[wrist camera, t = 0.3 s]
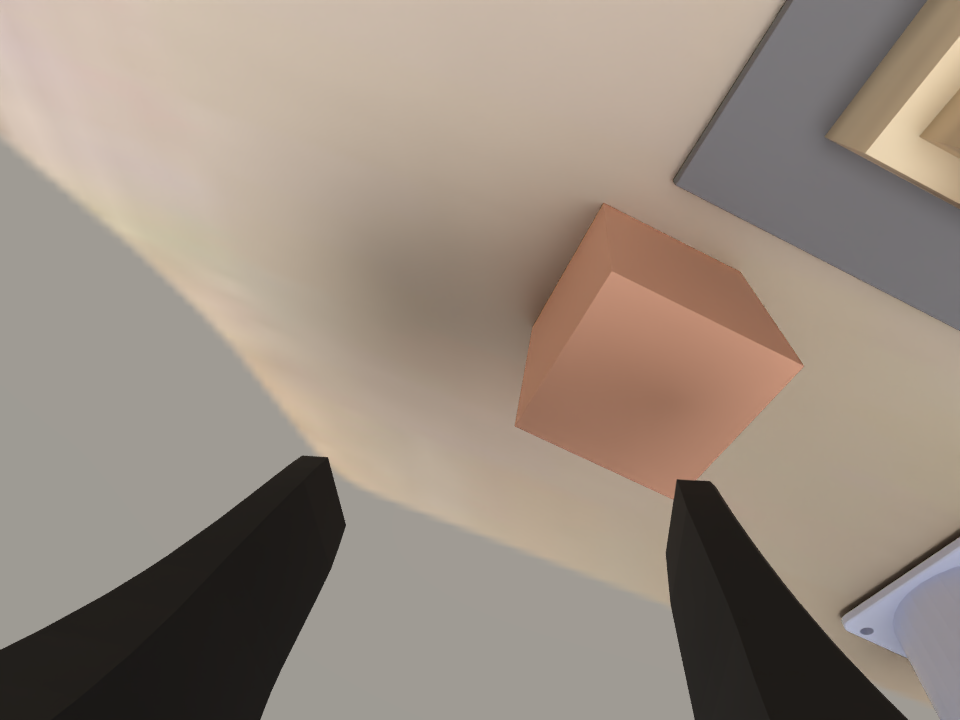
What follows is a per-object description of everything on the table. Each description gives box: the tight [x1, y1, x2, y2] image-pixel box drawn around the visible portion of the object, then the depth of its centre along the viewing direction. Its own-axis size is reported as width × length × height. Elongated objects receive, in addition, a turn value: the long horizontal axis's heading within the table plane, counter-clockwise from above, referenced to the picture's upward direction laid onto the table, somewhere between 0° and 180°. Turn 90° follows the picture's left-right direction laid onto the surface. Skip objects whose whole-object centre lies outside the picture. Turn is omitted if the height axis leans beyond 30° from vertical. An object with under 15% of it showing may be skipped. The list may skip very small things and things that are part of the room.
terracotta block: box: [515, 203, 804, 500], centre depth 16 cm, size 5×5×6 cm
